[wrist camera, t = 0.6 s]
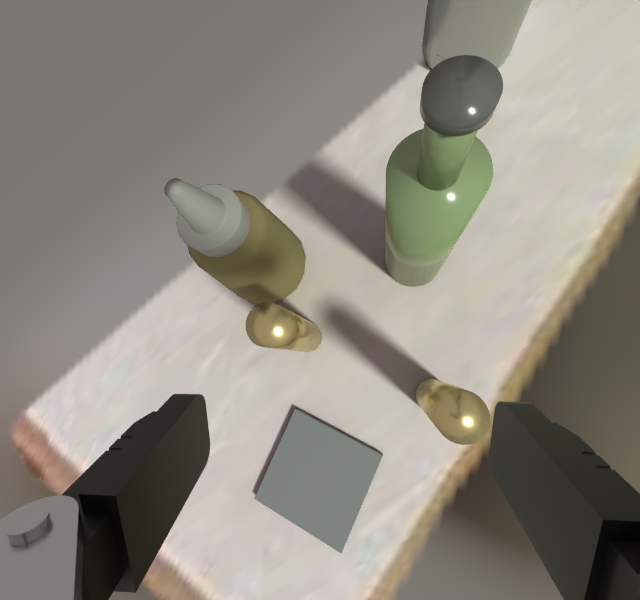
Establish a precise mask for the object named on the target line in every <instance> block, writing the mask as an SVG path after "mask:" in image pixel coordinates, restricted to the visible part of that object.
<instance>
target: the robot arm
mask: <svg viewBox="0 0 640 600" xmlns="http://www.w3.org/2000/svg"><path fill="white" fill-rule="evenodd" d="M531 1H532V0H428V5H427V12H426V21H425V29H424V37H423V55H424V59H425V61H426V62H427V64H428V66H429V67H430V68H431V69H433V68H434V67H435V66H436V65H437V64H439V63H440V62H442V61H444V60H446V59H448V58H451V57H455V56H460V55H473V56H478V57H481V58H484V59H486V60H488V61H489V62H491V63H492V64H493V65H494V66H495V67H496V68H498V67H499V66H500V65H501V64H502V63H503V62H504V61H505V60H506V58H507V57H508V55H509V53H510V51H511V49H512V46H513V44H514V41H515V39H516V37H517V34H518V32H519V29H520V27H521V25H522V22H523V20H524V17H525V15H526V13H527V10H528V8H529V6H530V3H531ZM209 451H210V438H209V429H208V420H207V412H206V403H205V399H204V397H203V395H200V394H174V395H172V396H171V397H170V398H169V399H168V400H167V401H166V402H165V404H164V405H163V406H162V407H161V408H160V409H159V410H158V411H157V412H152V413H150V414H148V415H147V416H145V417H143V418H142V419H140V420H138V421H137V422H135V423H134V424H133V425H132V426H131V427H130V428H129V429H128V430H127V431H126V432H125V433H124V434H123V435H122V436H121V438H120V439H118V440H117V441H116V442H115V443H114V444H113V445H112V446H111V447H110V448H109V451H105V452H104V453H103V454H102V455H101V456H100V457H99V458H98V459H97V460H96V461H95V462H94V463H93V464H92V465H91V466H90V467H89V468H88V469H87V470H86V471H85V472H84V473H83V474H82V475H81V476H80V477H79V478H78V479H77V480H76V481H75V482H74V483H73V484H72V485H71V486H70V487H69V488H68V489H67V490H66V491H65V492H64V493H63V494H62V495H58V496H50V497H46V498H42V499H39V500H36V501H33V502H31V503H29V504H26V505H24V506H22V507H20V508H18V509H17V510H15V511H13V512H12V513H10V514H8V515H7V516H5V517H4V518H3V519H1V520H0V600H108V599H109V598H110V596H111V594H112V593H113V591H120V592H136V591H137V589H138V587H139V586H140V584H141V582H142V580H143V578H144V577H145V575H146V573H147V571H148V569H149V568H150V566H151V564H152V562H153V560H154V558H155V557H156V555H157V553H158V551H159V549H160V548H161V546H162V544H163V542H164V540H165V539H166V537H167V535H168V533H169V531H170V529H171V528H172V526H173V524H174V522H175V520H176V519H177V517H178V515H179V513H180V511H181V510H182V508H183V506H184V504H185V502H186V500H187V499H188V497H189V495H190V493H191V491H192V490H193V488H194V486H195V484H196V482H197V481H198V479H199V477H200V475H201V473H202V471H203V470H204V468H205V466H206V463H207V461H208V457H209ZM489 457H490V465H491V469H492V472H493V475H494V477H495V479H496V481H497V483H498V485H499V486H500V488H501V490H502V492H503V493H504V495H505V497H506V499H507V500H508V502H509V504H510V506H511V508H512V509H513V511H514V513H515V515H516V516H517V518H518V520H519V521H520V523H521V525H522V527H523V529H524V530H525V532H526V534H527V536H528V537H529V539H530V541H531V542H532V544H533V546H534V548H535V550H536V551H537V553H538V555H539V557H540V558H541V560H542V562H543V564H544V565H545V567H546V569H547V571H548V572H549V574H550V576H551V578H552V580H553V581H554V583H555V585H556V587H557V588H558V590H559V592H560V594H561V595H562V597H563V599H564V600H640V494H639V493H638V492H637V491H636V490H635V489H634V488H633V487H632V486H630V485H629V484H628V483H627V482H626V481H625V480H624V479H623V478H622V477H621V476H620V475H619V474H618V473H617V472H616V471H615V470H611V468H610V466H609V465H608V464H607V463H606V462H605V461H604V460H603V459H602V458H601V457H600V456H598V455H596V453H595V451H594V450H593V449H592V448H590V447H589V446H588V445H587V444H586V443H585V442H584V441H583V440H582V439H581V438H580V437H579V436H577V435H576V434H574V433H572V432H571V431H569V430H567V429H565V428H564V427H562V426H561V425H559V424H557V423H552V422H551V421H550V420H549V419H547V417H546V416H545V415H544V414H543V413H542V412H541V411H540V410H539V409H538V408H537V407H536V406H535V405H534V404H532V403H530V402H498V403H497V405H496V407H495V412H494V420H493V428H492V436H491V443H490V452H489Z"/></svg>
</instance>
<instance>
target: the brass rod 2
mask: <svg viewBox="0 0 640 600" xmlns="http://www.w3.org/2000/svg"><path fill="white" fill-rule="evenodd" d="M415 397H416V401H417V403H418V404H419V406H420V407H421V408H422V410H423V411H424V412H425V413H426V415H427V416H428V417H429V418H430V420H431V421H432V422H433V423H434V425H435V426H436V427H437V428H438V430H439V431H440V432H441V433H442V435H443V436H444V437H446V438H447V439H448V440H450V441H452V442H454V443H457V444H462V445H467V444H473V443H475V442H478V441H479V440H481V439H482V438H483V437H484V436H485V435H486V433H487V431H488V429H489V426H490V414H489V410H488V408H487V406H486V404H485V403H484V401H483V400H482V399H481V398H480V397H479V396H477V395H476V394H474V393H472V392H470V391H467V390H464V389H462V388H459V387H456V386H453V385H450V384H447V383H445V382H442V381H439V380H436V379H427V380H424V381H422V382H421V383H420V384H419V385H418V387H417V389H416V392H415Z"/></svg>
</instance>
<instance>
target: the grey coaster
mask: <svg viewBox="0 0 640 600" xmlns="http://www.w3.org/2000/svg"><path fill="white" fill-rule="evenodd" d="M382 456H383V454H382V453H380V452H378V451H376V450H374V449H372V448H371V447H369V446H367V445H365V444H363V443H361V442H359V441H357V440H356V439H354V438H352V437H350V436H348V435H346V434H344V433H342V432H340V431H339V430H337V429H335V428H333V427H331V426H329V425H327V424H325V423H324V422H322V421H320V420H318V419H316V418H314V417H312V416H310V415H309V414H307V413H305V412H303V411H301V410H299V409H297V408H296V409H295V410H294V412H293V414H292V417H291V419H290V421H289V423H288V425H287V428H286V430H285V432H284V434H283V436H282V439H281V441H280V443H279V445H278V447H277V450H276V452H275V454H274V456H273V458H272V461H271V463H270V465H269V467H268V470H267V472H266V474H265V476H264V478H263V481H262V483H261V485H260V487H259V489H258V492H257V494H256V496H255V498H254V499H256V500H257V501H259V502H261V503H262V504H264V505H265V506H267V507H269V508H270V509H272V510H273V511H275V512H277V513H278V514H280V515H281V516H283V517H285V518H286V519H288V520H289V521H291V522H292V523H294V524H296V525H297V526H299V527H300V528H302V529H304V530H305V531H307V532H308V533H310V534H312V535H313V536H315V537H316V538H318V539H320V540H321V541H323V542H324V543H326V544H327V545H329V546H331V547H332V548H334V549H335V550H337V551H339V552H340V553H342V550H343V548H344V546H345V543H346V541H347V539H348V536H349V534H350V531H351V529H352V527H353V524H354V522H355V520H356V517H357V515H358V513H359V510H360V508H361V505H362V503H363V501H364V498H365V496H366V494H367V491H368V489H369V487H370V484H371V482H372V480H373V477H374V475H375V472H376V470H377V468H378V465H379V463H380V461H381V458H382Z"/></svg>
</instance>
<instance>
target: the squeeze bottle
mask: <svg viewBox="0 0 640 600" xmlns="http://www.w3.org/2000/svg"><path fill="white" fill-rule="evenodd" d="M165 194H166V195H167V197H168V198H169V199H170V200H171V202H172V203H173V204H174V206H175V207H176V208H177V210H178V211H179V212H178V218H177V227H178V232H179V235H180V237H181V238H182V239H183V240H184V242H185V243H186V244H187V245H188V249H189V254H190V255H191V257H192V258H193V259H194V261H195V262H196V263H197V265H198V266H199V267H200V268H202V269H203V270H204V271H206V272H207V273H208V274H210V275H211V276H212V277H214V278H215V279H217V280H218V281H219V282H221V283H222V284H223V285H225V286H226V287H227V288H229V289H230V290H231V291H233V292H234V293H235V294H237V295H238V296H240V297H242V298H244V299H245V300H247V301H249V302H251V303H264V302H275V301H278V300H281V299H283V298H285V297H287V296H288V295H289V294H291V293H292V292H293V291H294V290H295V289H296V288H297V287H298V285H299V283H300V281H301V279H302V277H303V274H304V268H305V258H306V256H305V253H304V249H303V246H302V243H301V241H300V240H299V238H298V237H297V236H296V235H295V234H294V233H293V232H292V231H291V230H290V229H289V228H288V227H287V226H286V225H285V224H284V223H283V222H282V221H281V220H279V219H278V218H277V217H276V216H275V215H274V214H273V213H272V212H271V211H270V210H269V209H267V208H266V207H265V206H264V205H263V204H262V203H261V202H260V201H259V200H258V199H256V198H255V197H254V196H252V195H249V194H247V193H245V192H242V191H232V189H230V188H228V187H225V186H223V185H221V184H209V185H205V186H203V187H200V188H196V187H194V186H192V185H190V184H188V183H186V182H184V181H182V180H180V179H178V178H174V179H172V180H170V181H168V182H167V184H166V186H165Z"/></svg>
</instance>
